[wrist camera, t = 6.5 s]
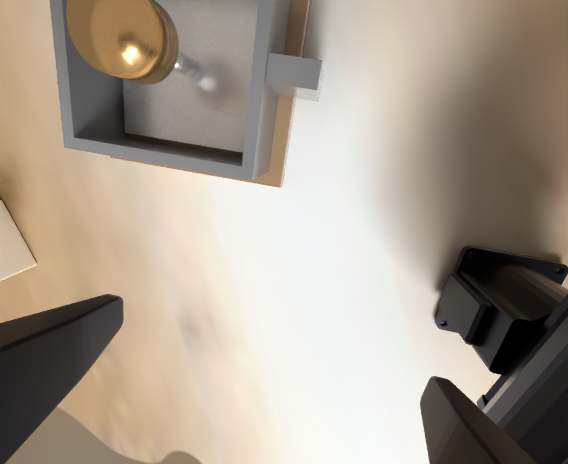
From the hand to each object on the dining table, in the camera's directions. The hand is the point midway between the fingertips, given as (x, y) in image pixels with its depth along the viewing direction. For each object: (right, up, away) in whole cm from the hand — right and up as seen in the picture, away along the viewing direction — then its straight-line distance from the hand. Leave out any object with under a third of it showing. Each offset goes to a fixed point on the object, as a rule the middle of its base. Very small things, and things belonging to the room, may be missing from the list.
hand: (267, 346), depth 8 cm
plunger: (-5, +13, +9) cm, 16 cm away
